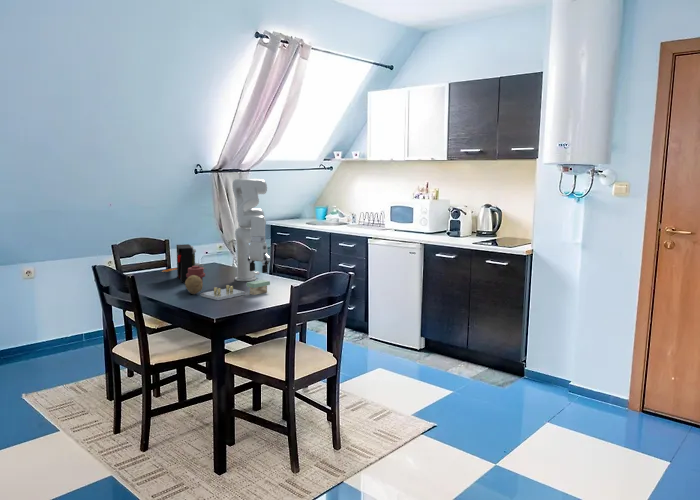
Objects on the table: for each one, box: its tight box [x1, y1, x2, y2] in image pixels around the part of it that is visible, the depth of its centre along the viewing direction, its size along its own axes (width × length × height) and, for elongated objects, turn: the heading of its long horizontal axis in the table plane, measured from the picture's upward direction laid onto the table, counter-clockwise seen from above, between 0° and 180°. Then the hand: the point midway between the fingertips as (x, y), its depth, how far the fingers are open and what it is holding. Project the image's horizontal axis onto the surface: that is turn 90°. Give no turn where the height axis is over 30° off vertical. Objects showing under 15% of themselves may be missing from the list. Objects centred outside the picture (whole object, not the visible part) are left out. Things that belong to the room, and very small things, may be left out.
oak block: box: [249, 285, 268, 296], centre depth 290 cm, size 9×4×4 cm, turn 141°
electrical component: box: [176, 243, 197, 284], centre depth 322 cm, size 18×10×20 cm, turn 22°
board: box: [246, 279, 271, 288], centre depth 290 cm, size 11×6×2 cm, turn 141°
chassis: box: [200, 284, 247, 301], centre depth 283 cm, size 18×14×4 cm
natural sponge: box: [184, 275, 204, 295], centre depth 285 cm, size 9×9×10 cm
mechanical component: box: [186, 266, 206, 286], centre depth 299 cm, size 12×10×10 cm
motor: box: [161, 262, 207, 273], centre depth 350 cm, size 23×22×5 cm
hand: (258, 271), depth 288 cm, fingers open, 9 cm apart
